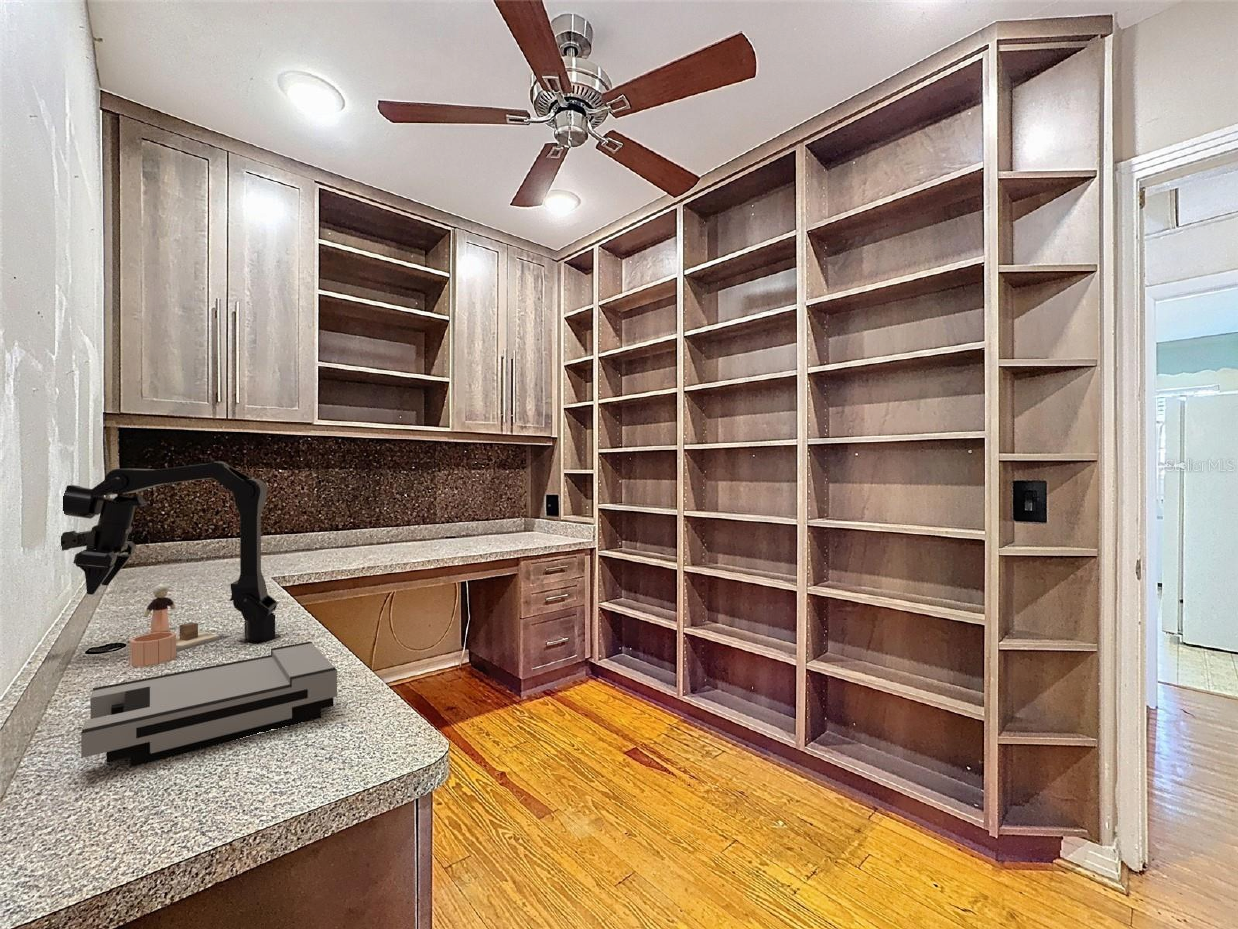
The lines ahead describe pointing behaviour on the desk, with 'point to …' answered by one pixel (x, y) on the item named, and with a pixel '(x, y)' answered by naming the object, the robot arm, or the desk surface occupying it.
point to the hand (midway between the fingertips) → (97, 589)
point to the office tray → (208, 705)
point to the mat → (202, 643)
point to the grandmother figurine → (159, 609)
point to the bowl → (152, 649)
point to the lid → (192, 636)
